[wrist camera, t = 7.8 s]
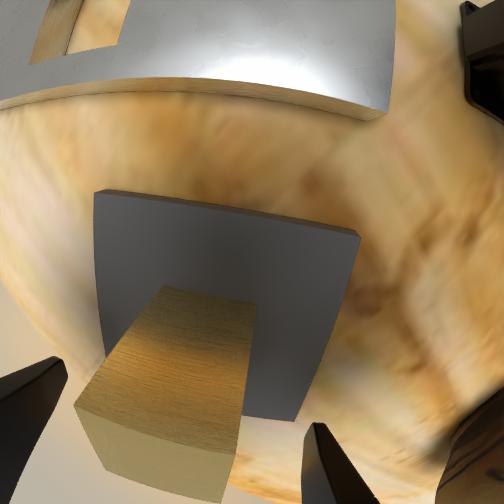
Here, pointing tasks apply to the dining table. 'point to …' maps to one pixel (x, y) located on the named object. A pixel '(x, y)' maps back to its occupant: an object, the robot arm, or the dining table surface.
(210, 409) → the brass block
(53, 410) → the robot arm
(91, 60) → the metal plate
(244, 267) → the rubber mat
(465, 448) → the ceramic jug
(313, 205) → the dining table surface
